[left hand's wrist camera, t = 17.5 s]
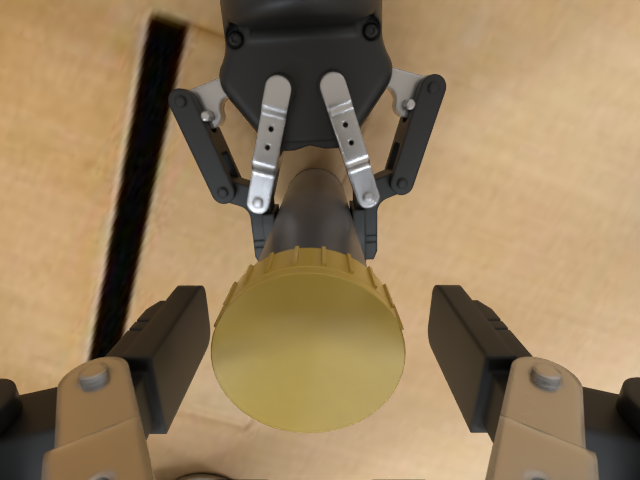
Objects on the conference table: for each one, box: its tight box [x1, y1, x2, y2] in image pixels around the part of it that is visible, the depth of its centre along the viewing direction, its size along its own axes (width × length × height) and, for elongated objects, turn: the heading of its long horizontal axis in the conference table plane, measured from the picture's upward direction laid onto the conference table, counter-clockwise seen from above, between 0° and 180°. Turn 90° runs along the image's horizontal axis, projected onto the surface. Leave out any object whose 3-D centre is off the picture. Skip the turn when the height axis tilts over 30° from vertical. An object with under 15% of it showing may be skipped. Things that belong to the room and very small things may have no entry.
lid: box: [211, 246, 406, 433], centre depth 10 cm, size 5×5×2 cm
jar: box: [258, 169, 367, 267], centre depth 18 cm, size 4×4×18 cm
